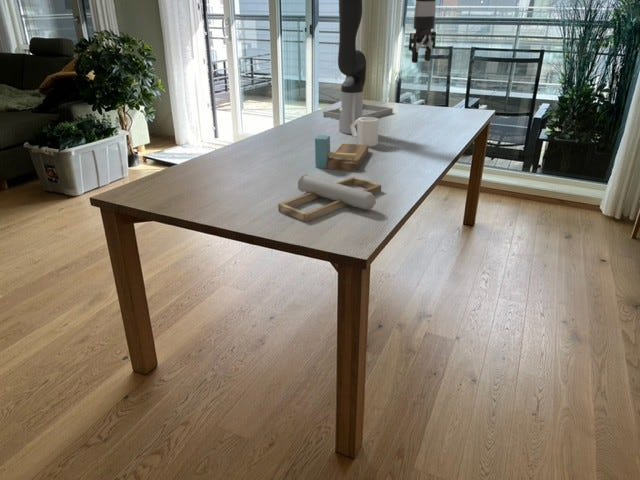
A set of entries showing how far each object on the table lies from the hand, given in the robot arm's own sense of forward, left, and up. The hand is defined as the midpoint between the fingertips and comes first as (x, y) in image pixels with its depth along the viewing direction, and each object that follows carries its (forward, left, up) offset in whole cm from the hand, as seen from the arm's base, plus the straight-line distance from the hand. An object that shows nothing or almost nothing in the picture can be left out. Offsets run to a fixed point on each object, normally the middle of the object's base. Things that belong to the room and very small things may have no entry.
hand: (421, 61), depth 184 cm
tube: (+24, -73, -30) cm, 82 cm away
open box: (-1, -40, -30) cm, 50 cm away
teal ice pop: (+1, -49, -30) cm, 57 cm away
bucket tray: (-49, +21, -30) cm, 61 cm away
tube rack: (+22, -73, -30) cm, 82 cm away
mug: (-12, -19, -30) cm, 38 cm away
